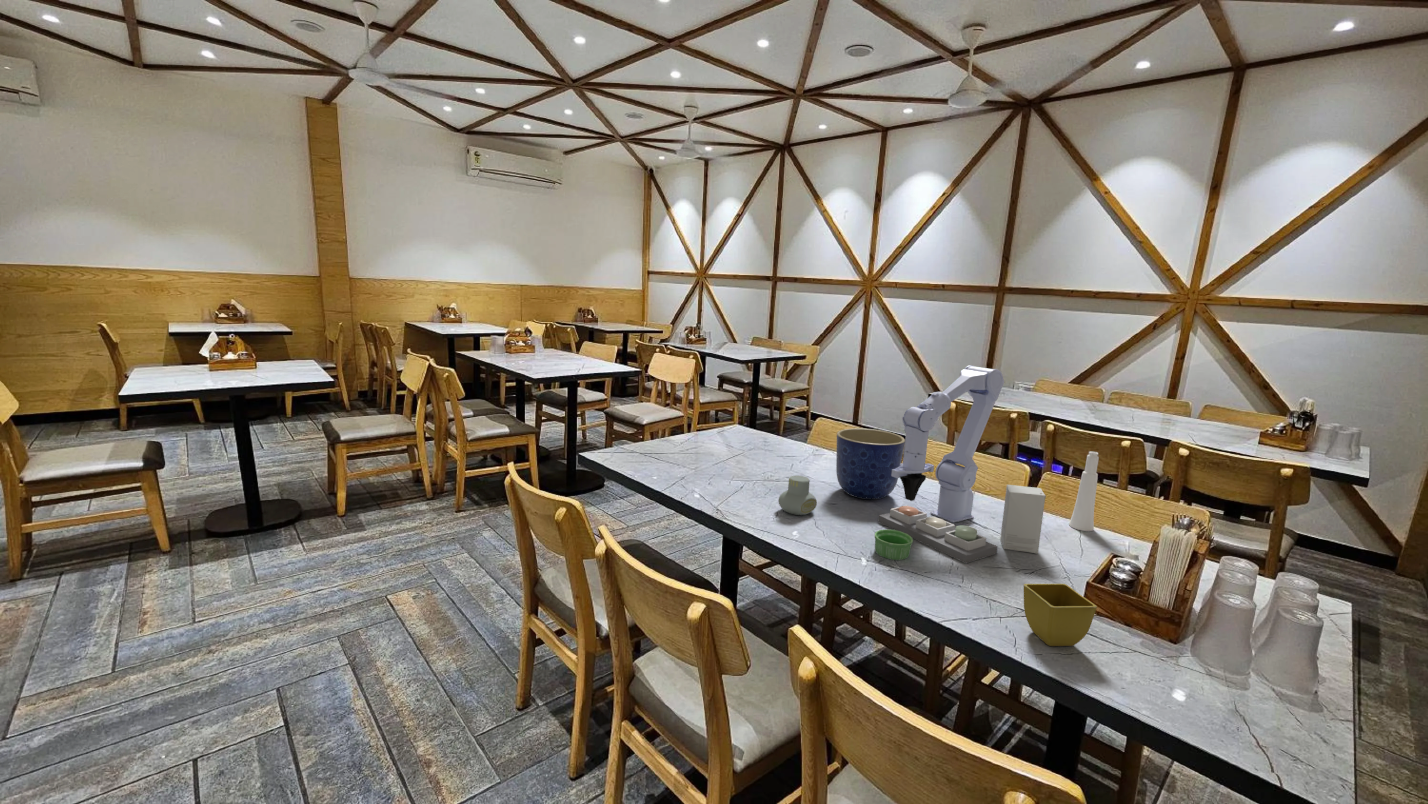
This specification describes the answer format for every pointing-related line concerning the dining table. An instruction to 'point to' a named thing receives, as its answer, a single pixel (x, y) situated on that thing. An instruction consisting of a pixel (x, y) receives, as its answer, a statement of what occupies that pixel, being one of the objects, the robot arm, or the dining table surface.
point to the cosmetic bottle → (1086, 496)
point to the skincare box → (1022, 518)
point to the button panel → (938, 536)
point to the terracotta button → (908, 510)
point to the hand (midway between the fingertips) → (909, 499)
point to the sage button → (966, 533)
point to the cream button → (935, 522)
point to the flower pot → (1057, 613)
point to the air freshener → (797, 497)
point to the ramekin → (892, 544)
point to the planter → (868, 461)
